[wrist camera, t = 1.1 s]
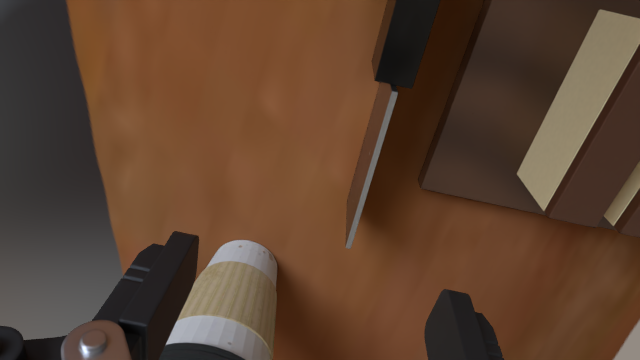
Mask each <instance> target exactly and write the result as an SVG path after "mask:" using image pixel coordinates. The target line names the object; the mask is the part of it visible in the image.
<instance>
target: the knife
mask: <svg viewBox="0 0 640 360" xmlns="http://www.w3.org/2000/svg"><path fill="white" fill-rule="evenodd" d="M439 3H440V0H388V1H387V5H386V8H385V12H384V16H383V20H382V24H381V28H380V31H379V35H378V39H377V43H376V47H375V50H374V54H373V58H372V66H373V73H374V79H375V81H378V82H380V84H379V88H378V92H377V95H376V99H375V102H374V106H373V110H372V113H371V117H370V120H369V124H368V127H367V131H366V135H365V138H364V142H363V145H362V149H361V153H360V156H359V160H358V163H357V167H356V170H355V174H354V178H353V181H352V185H351V188H350V192H349V195H348V199H347V213H346V246H345V247H346V248H349V249H351V246H352V243H353V239H354V236H355V233H356V230H357V226H358V223H359V220H360V216H361V213H362V210H363V207H364V203H365V200H366V197H367V194H368V190H369V187H370V184H371V180H372V177H373V174H374V171H375V167H376V164H377V161H378V158H379V154H380V151H381V148H382V144H383V141H384V138H385V135H386V131H387V128H388V125H389V122H390V118H391V115H392V112H393V108H394V105H395V102H396V99H397V95H398V91H397V87H396V86H401V87H405V88H410V89H412V87H413V84H414V81H415V78H416V75H417V72H418V69H419V66H420V62H421V59H422V56H423V53H424V50H425V47H426V44H427V41H428V38H429V34H430V31H431V28H432V25H433V22H434V19H435V16H436V13H437V9H438V6H439Z"/></svg>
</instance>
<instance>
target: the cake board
mask: <svg viewBox="0 0 640 360" xmlns="http://www.w3.org/2000/svg"><path fill="white" fill-rule="evenodd" d="M600 9H601V10H605V11H609V12H614V13H618V14H622V15H626V16H631V17H635V18H639V19H640V0H484V3H483V6H482V8H481V11H480V14H479V16H478V19H477V22H476V24H475V27H474V30H473V33H472V35H471V38H470V41H469V43H468V46H467V49H466V51H465V54H464V57H463V60H462V62H461V65H460V68H459V70H458V73H457V76H456V79H455V81H454V84H453V87H452V89H451V92H450V95H449V97H448V100H447V103H446V106H445V108H444V111H443V114H442V116H441V119H440V122H439V124H438V127H437V130H436V133H435V135H434V138H433V141H432V143H431V146H430V149H429V151H428V154H427V157H426V160H425V162H424V165H423V168H422V170H421V173H420V176H419V178H418V181H419V185H420V188H421V189H425V190H430V191H435V192H439V193H444V194H449V195H453V196H458V197H463V198H467V199H472V200H477V201H481V202H486V203H491V204H495V205H500V206H505V207H509V208H514V209H519V210H523V211H528V212H533V213H537V214H542V215H546V214H545V212H544V211H543V210H542V208H541V207H540V206H539V204H538V203H537V201H536V200H535V199H534V197H533V196H532V194H531V193H530V192H529V190H528V189H527V188H526V186H525V185H524V183H523V182H522V181H521V179H520V178H519V176H518V175H517V172H518V170H519V168H520V166H521V164H522V162H523V160H524V158H525V156H526V154H527V152H528V150H529V148H530V146H531V144H532V142H533V140H534V138H535V136H536V134H537V132H538V130H539V128H540V126H541V124H542V122H543V120H544V118H545V116H546V114H547V112H548V110H549V108H550V107H551V105H552V103H553V101H554V99H555V97H556V95H557V93H558V91H559V89H560V87H561V85H562V83H563V81H564V79H565V77H566V75H567V73H568V71H569V69H570V67H571V65H572V63H573V61H574V59H575V57H576V55H577V53H578V51H579V49H580V47H581V45H582V43H583V41H584V39H585V37H586V35H587V33H588V31H589V29H590V27H591V25H592V23H593V21H594V19H595V17H596V15H597V13H598V11H599V10H600ZM597 226H598V227H603V228H607V229H612V230H616V229H615V227H614V226H613V225H612V224H611V223H610V222H609V221H608V220H607V219H606V218H605V217H604V216H603V217H602V219H601V220H600V222H599V223H598V225H597Z"/></svg>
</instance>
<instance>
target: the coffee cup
mask: <svg viewBox="0 0 640 360" xmlns="http://www.w3.org/2000/svg"><path fill="white" fill-rule="evenodd" d="M276 280H277V263H276V260H275V258H274V256H273V255H272V254H271V252H270V251H269V250H267V249H266V248H265V247H263V246H262V245H260V244H258V243H255V242H252V241H248V240H235V241H231V242H228V243H226V244H224V245H223V246H222V247H220V248H219V250H218V251H217V252H216V254H215V255H214V257H213V258H212V260H211V261H210V263H209V264H208V266H207V267H206V269H205V270H203V271H202V273H201V274H200V275H199V277H198V278H197V280H196V281H195V283H194V284H193V287H192V290H191V292H190V294H189V296H188V298H187V301H186V303H185V305H184V307H183V309H182V311H181V313H180V315H179V318H178V320H177V322H176V324H175V326H174V328H173V330H172V332H171V335H170V337H169V339H168V341H167V343H166V345H165V347H164V349H163V352H162V354H161V356H160V358H159V360H273V347H274V332H275V317H276V303H277V292H276Z"/></svg>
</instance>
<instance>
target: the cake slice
mask: <svg viewBox="0 0 640 360" xmlns="http://www.w3.org/2000/svg"><path fill="white" fill-rule="evenodd" d="M639 161H640V19H639V18H635V17H631V16H626V15H622V14H618V13H614V12H609V11H605V10H601V9H600V10H599V11H598V13H597V15H596V17H595V19H594V21H593V23H592V25H591V27H590V29H589V31H588V33H587V35H586V37H585V39H584V41H583V43H582V45H581V47H580V49H579V51H578V53H577V55H576V57H575V59H574V61H573V63H572V65H571V67H570V69H569V71H568V73H567V75H566V77H565V79H564V81H563V83H562V85H561V87H560V89H559V91H558V93H557V95H556V97H555V99H554V101H553V103H552V105H551V107H550V108H549V110H548V112H547V114H546V116H545V118H544V120H543V122H542V124H541V126H540V128H539V130H538V132H537V134H536V136H535V138H534V140H533V142H532V144H531V146H530V148H529V150H528V152H527V154H526V156H525V158H524V160H523V162H522V164H521V166H520V168H519V170H518V172H517V175H518V176H519V178H520V179H521V181H522V182H523V183H524V185H525V186H526V188H527V189H528V190H529V192H530V193H531V194H532V196H533V197H534V199H535V200H536V201H537V203H538V204H539V206H540V207H541V208H542V210H543V211H544V212H545V214H546V215H547V216H548V217H549V218H552V219H557V220H561V221H566V222H571V223H575V224H580V225H585V226H589V227H594V228H595V227H596V226H597V225H598V223H599V222H600V220H601V219H602V217H603V216H604V214H605V213H606V211H607V210H608V208H609V207H610V205H611V204H612V202H613V201H614V199H615V198H616V196H617V195H618V193H619V191H620V190H621V188H622V187H623V185H624V184H625V182H626V181H627V179H628V178H629V176H630V175H631V173H632V172H633V170H634V169H635V167H636V166H637V164H638V163H639Z"/></svg>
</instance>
